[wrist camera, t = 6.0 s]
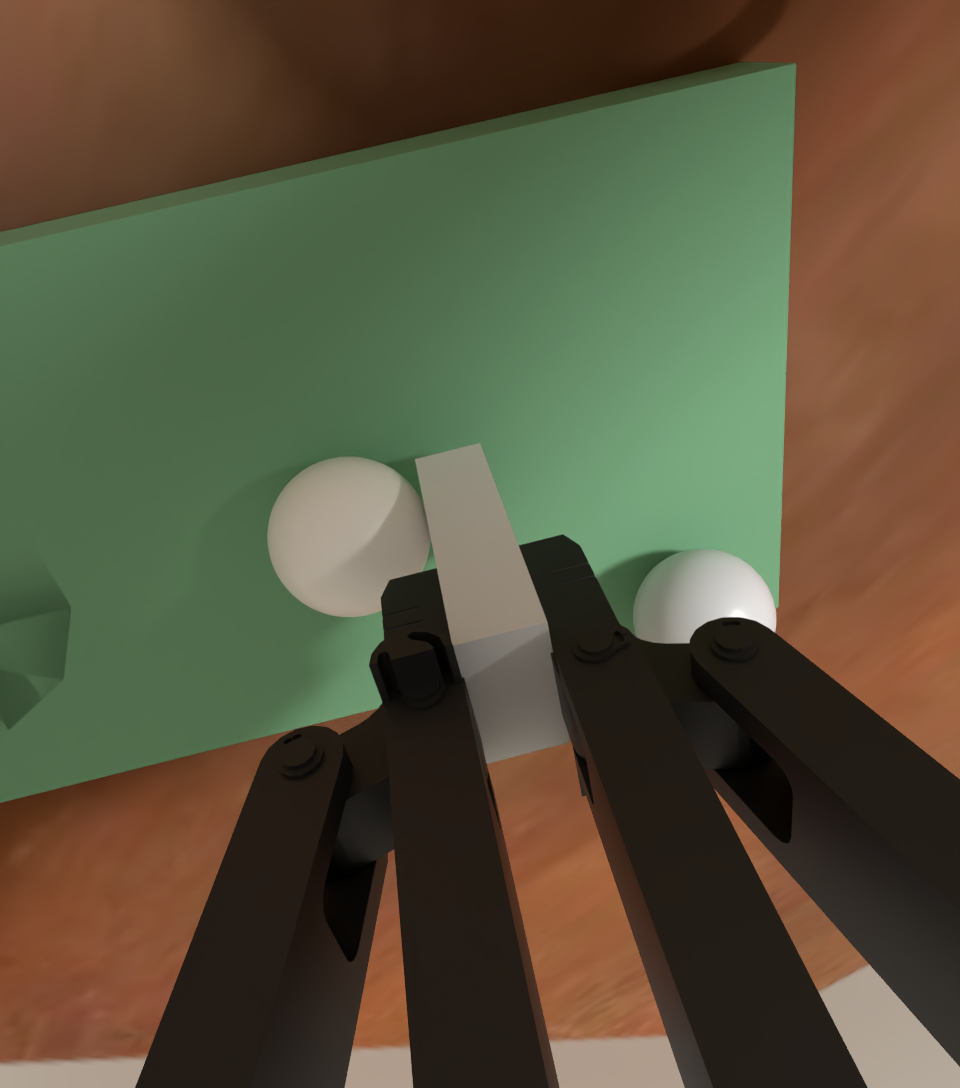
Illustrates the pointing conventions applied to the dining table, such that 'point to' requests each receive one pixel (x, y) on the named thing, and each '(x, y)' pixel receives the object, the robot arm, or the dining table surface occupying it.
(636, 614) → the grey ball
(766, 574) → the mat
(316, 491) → the ball
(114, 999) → the dining table surface
